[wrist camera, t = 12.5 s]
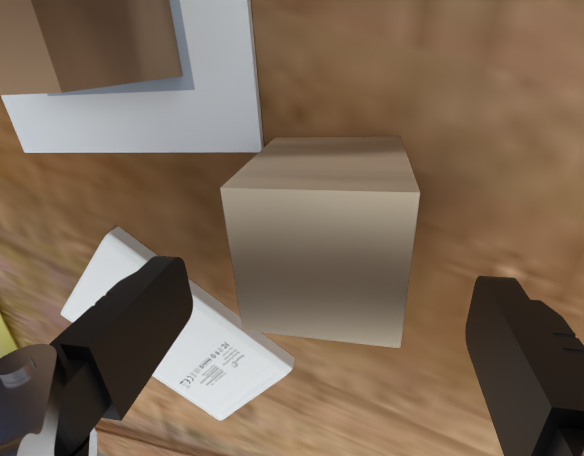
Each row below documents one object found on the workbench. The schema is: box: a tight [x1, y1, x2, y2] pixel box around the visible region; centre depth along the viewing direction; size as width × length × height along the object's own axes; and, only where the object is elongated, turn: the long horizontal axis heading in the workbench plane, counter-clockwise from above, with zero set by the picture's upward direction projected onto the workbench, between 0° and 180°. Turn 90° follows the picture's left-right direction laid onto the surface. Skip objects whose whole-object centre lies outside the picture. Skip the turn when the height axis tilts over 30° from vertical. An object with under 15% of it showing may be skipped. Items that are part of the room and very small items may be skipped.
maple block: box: [220, 136, 420, 348], centre depth 12 cm, size 5×5×6 cm
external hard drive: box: [60, 226, 295, 421], centre depth 21 cm, size 2×8×12 cm
